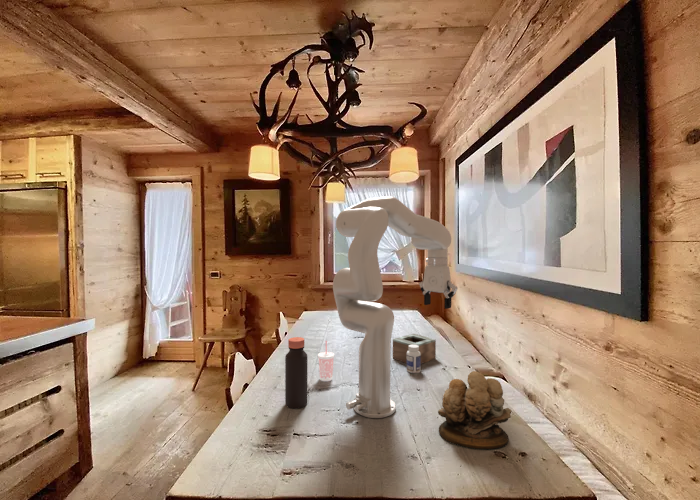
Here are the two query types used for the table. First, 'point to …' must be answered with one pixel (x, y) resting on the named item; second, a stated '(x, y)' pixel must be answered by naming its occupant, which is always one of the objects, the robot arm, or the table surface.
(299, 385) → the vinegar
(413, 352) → the pill bottle
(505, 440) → the owl figurine
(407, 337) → the box
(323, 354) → the beverage cup
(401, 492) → the table surface
